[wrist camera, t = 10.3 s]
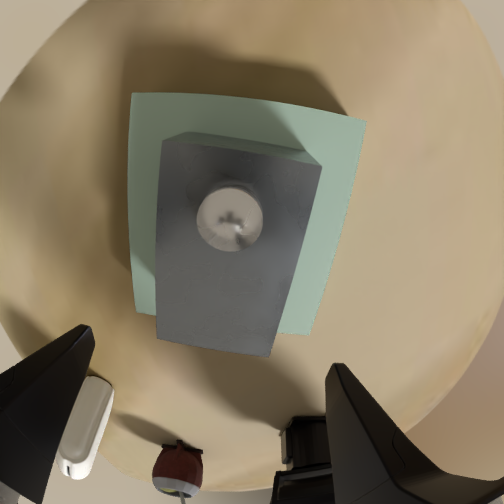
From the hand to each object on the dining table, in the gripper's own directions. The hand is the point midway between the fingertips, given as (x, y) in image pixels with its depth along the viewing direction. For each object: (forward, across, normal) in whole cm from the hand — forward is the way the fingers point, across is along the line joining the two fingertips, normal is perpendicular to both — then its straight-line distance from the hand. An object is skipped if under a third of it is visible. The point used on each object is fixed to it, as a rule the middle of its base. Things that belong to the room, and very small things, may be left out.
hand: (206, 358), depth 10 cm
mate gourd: (+11, +4, +36) cm, 37 cm away
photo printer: (+11, +15, +24) cm, 31 cm away
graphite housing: (+8, 0, -1) cm, 8 cm away
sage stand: (+11, 0, -2) cm, 11 cm away
